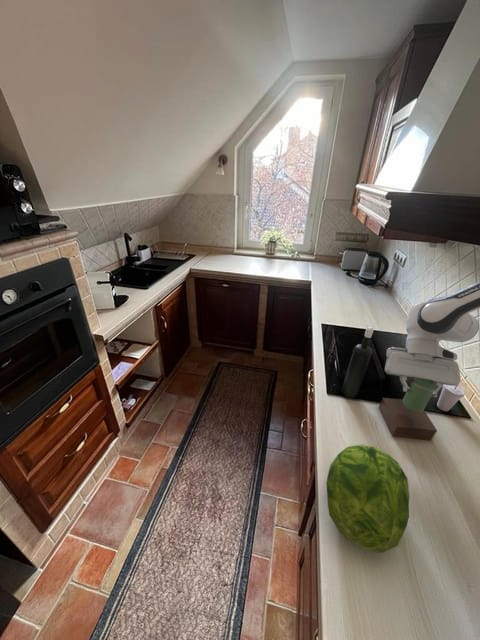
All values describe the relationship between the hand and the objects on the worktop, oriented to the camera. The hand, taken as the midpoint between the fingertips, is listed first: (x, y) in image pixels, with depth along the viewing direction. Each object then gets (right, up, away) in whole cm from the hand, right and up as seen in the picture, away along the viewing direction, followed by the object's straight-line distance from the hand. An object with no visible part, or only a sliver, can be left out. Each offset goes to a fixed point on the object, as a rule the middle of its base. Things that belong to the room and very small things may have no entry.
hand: (419, 394), depth 79 cm
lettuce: (-26, -24, -14) cm, 38 cm away
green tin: (0, -4, +3) cm, 5 cm away
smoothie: (+18, -9, +14) cm, 25 cm away
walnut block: (0, -12, +8) cm, 14 cm away
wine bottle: (-14, -5, +19) cm, 24 cm away
